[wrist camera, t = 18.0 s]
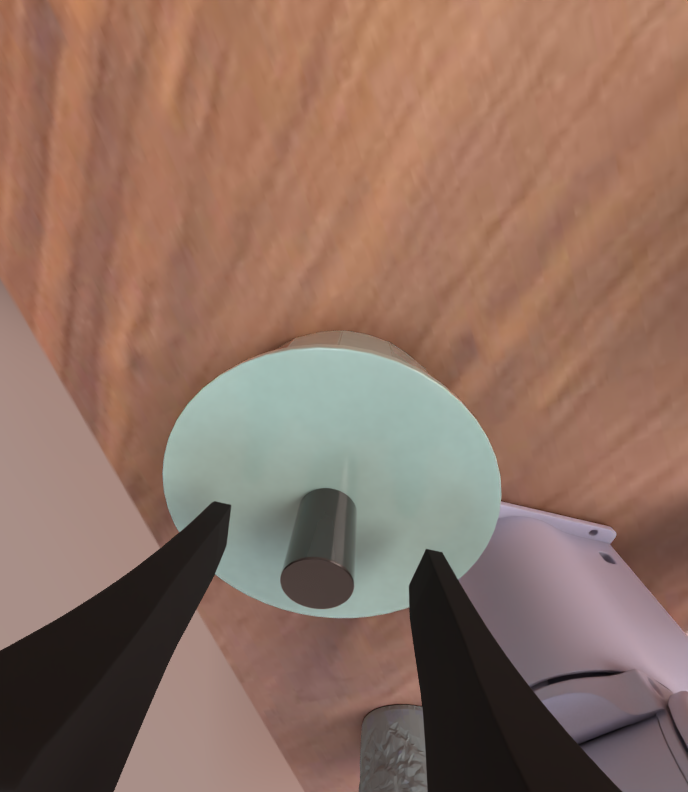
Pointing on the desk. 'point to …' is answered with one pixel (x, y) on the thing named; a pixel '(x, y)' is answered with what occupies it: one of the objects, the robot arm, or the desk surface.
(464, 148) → the desk surface
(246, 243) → the desk surface
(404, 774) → the drinking glass
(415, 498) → the lid
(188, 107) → the desk surface
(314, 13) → the desk surface
